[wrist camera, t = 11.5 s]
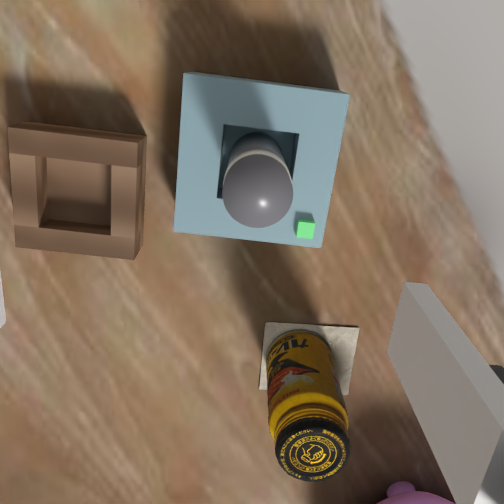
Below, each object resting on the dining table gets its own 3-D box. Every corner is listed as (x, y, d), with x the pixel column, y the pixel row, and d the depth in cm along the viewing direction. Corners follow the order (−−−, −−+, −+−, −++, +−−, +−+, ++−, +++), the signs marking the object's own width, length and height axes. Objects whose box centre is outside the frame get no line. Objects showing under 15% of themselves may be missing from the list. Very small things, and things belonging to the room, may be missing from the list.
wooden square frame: (27, 121, 36) (7, 127, 33) (146, 135, 37) (137, 142, 34) (33, 232, 40) (15, 247, 37) (142, 244, 40) (134, 260, 37)
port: (190, 71, 35) (182, 73, 31) (339, 90, 35) (351, 95, 31) (181, 214, 39) (172, 234, 35) (314, 230, 39) (322, 251, 35)
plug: (232, 128, 35) (225, 153, 26) (287, 135, 36) (299, 162, 26) (226, 182, 37) (218, 224, 28) (279, 188, 37) (288, 232, 28)
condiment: (265, 321, 43) (269, 414, 32) (359, 326, 43) (396, 421, 32) (259, 387, 46) (261, 494, 34) (347, 392, 46) (377, 500, 35)
